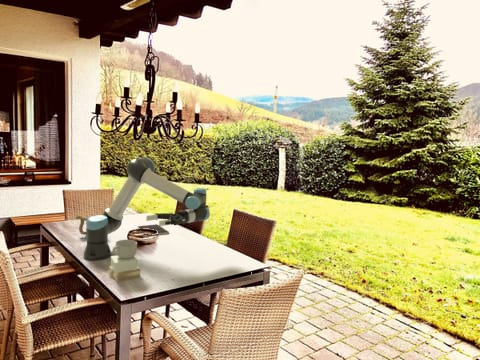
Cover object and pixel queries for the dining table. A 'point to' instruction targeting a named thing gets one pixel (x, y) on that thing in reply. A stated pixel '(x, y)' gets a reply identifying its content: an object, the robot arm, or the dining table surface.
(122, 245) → the teacup
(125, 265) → the tower top
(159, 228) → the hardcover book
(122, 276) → the tower base
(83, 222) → the tankard
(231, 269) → the dining table surface
